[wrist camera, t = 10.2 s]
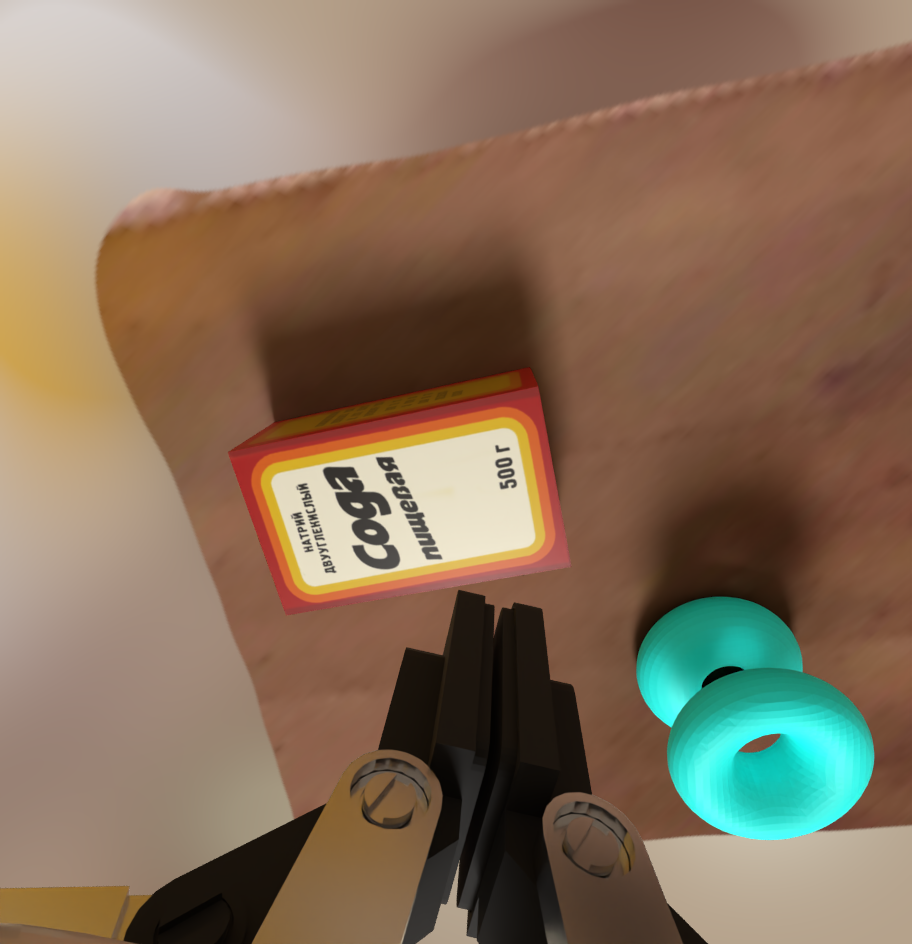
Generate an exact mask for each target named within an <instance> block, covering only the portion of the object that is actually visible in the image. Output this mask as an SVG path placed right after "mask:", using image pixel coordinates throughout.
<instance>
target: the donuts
mask: <svg viewBox="0 0 912 944" xmlns="http://www.w3.org/2000/svg"><path fill="white" fill-rule="evenodd" d="M725 666H736V667H740V668H742V669H744V670H743V671H739V672H735V673H732V674H729V675H726V676H724V677H721V678H719V679H717V680H715V681H713V682H712V683H710V684H708V685H707V686H705V687H704V688H702V683H703V681H704V679H705V678H706V677H707V676H708V675H709V674H710V673H711V672H713V671H714V670H716V669H718V668H721V667H725ZM636 673H637V681H638V685H639V688H640V691H641V694H642V696H643V698H644V700H645V702H646V703H647V705H648V706H649V708H650V709H651V710H652V711H653V713H654V714H655V715H656V716H657V717H658V718H659V719H661V720H662V721H663V722H664V723H666V724H667V725H668V726H670V727H672V728H671V731H670V735H669V740H668V746H667V758H668V767H669V772H670V775H671V778H672V780H673V783H674V785H675V787H676V789H677V791H678V793H679V794H680V796H681V797H682V799H683V800H684V801H685V803H686V804H687V805H688V806H689V807H690V809H691V810H692V811H694V812H695V813H696V814H697V815H698V816H699V817H701V818H702V819H703V820H705V821H706V822H708V823H709V824H711V825H712V826H714V827H716V828H718V829H720V830H723V831H725V832H728V833H730V834H734V835H737V836H741V837H746V838H751V839H760V840H779V839H787V838H793V837H798V836H802V835H805V834H809V833H812V832H814V831H817V830H819V829H821V828H823V827H826V826H827V825H829V824H831V823H833V822H834V821H836V820H837V819H839V818H840V817H841V816H843V815H844V814H845V813H846V812H847V811H848V810H849V809H850V808H851V807H852V806H853V805H854V804H855V803H856V802H857V801H858V799H859V798H860V797H861V795H862V793H863V792H864V790H865V788H866V787H867V785H868V782H869V780H870V777H871V774H872V770H873V765H874V747H873V740H872V736H871V733H870V730H869V728H868V726H867V723H866V721H865V719H864V718H863V716H862V714H861V713H860V711H859V710H858V709H857V708H856V706H855V705H854V704H853V703H852V702H851V701H850V700H849V698H847V697H846V696H845V695H844V694H843V693H842V692H840V691H839V690H837V689H836V688H835V687H833V686H832V685H830V684H829V683H827V682H825V681H823V680H821V679H819V678H816V677H814V676H811V675H809V674H806V673H803V665H802V656H801V651H800V648H799V646H798V643H797V641H796V639H795V637H794V635H793V633H792V632H791V630H790V629H789V628H788V626H787V625H786V624H785V623H784V622H783V621H782V620H781V619H780V618H779V617H778V616H777V615H775V614H774V613H772V612H771V611H769V610H768V609H766V608H764V607H762V606H761V605H759V604H756V603H754V602H751V601H748V600H744V599H740V598H733V597H708V598H702V599H697V600H694V601H691V602H688V603H685V604H683V605H680V606H678V607H677V608H675V609H673V610H671V611H670V612H668V613H667V614H665V615H664V616H663V617H662V618H661V619H659V620H658V621H657V622H656V623H655V624H654V626H653V627H652V628H651V629H650V631H649V632H648V633H647V635H646V637H645V638H644V640H643V642H642V644H641V647H640V650H639V653H638V657H637V668H636ZM775 733H781V735H780V737H779V739H778V740H777V741H776V742H775V743H774V744H773V745H772V746H770V747H769V748H767V749H765V750H762V751H759V752H753V753H745V752H739V751H738V750H739V749H740V748H741V747H743V746H744V745H745V744H746V743H748V742H750V741H752V740H753V739H756V738H758V737H761V736H764V735H768V734H775Z"/></svg>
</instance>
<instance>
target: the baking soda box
mask: <svg viewBox="0 0 912 944" xmlns="http://www.w3.org/2000/svg"><path fill="white" fill-rule="evenodd" d="M228 455H229V457H230V460H231V463H232V466H233V469H234V471H235V474H236V477H237V480H238V482H239V485H240V488H241V491H242V494H243V496H244V499H245V502H246V505H247V508H248V510H249V513H250V516H251V519H252V522H253V524H254V527H255V530H256V533H257V536H258V539H259V542H260V544H261V547H262V550H263V553H264V556H265V558H266V561H267V564H268V567H269V569H270V572H271V575H272V578H273V580H274V583H275V586H276V589H277V591H278V594H279V597H280V600H281V603H282V605H283V608H284V611H285V614H286V615H291V614H297V613H303V612H308V611H314V610H320V609H326V608H332V607H338V606H344V605H349V604H355V603H361V602H367V601H373V600H379V599H385V598H391V597H396V596H402V595H408V594H414V593H420V592H426V591H432V590H437V589H443V588H449V587H455V586H461V585H467V584H473V583H478V582H484V581H490V580H496V579H502V578H508V577H514V576H520V575H525V574H531V573H537V572H543V571H549V570H555V569H561V568H566V567H571V561H570V556H569V551H568V545H567V540H566V534H565V529H564V523H563V518H562V513H561V507H560V502H559V496H558V491H557V485H556V480H555V475H554V469H553V464H552V458H551V453H550V447H549V442H548V437H547V431H546V426H545V420H544V415H543V409H542V404H541V399H540V393H539V388H538V385H537V382H536V380H535V378H534V375H533V373H532V370H531V368H530V367H528V368H523V369H518V370H514V371H509V372H505V373H500V374H495V375H491V376H486V377H482V378H477V379H472V380H468V381H463V382H458V383H454V384H449V385H445V386H440V387H435V388H431V389H426V390H422V391H417V392H412V393H408V394H403V395H398V396H394V397H389V398H385V399H380V400H375V401H371V402H366V403H362V404H357V405H352V406H348V407H343V408H338V409H334V410H329V411H325V412H320V413H315V414H311V415H306V416H302V417H297V418H292V419H288V420H283V421H278V422H274V423H273V424H271V425H270V426H268V427H266V428H265V429H263V430H262V431H260V432H259V433H257V434H256V435H254V436H252V437H251V438H249V439H248V440H246V441H245V442H243V443H241V444H240V445H238V446H237V447H235V448H234V449H232V450H231V451H229V452H228Z"/></svg>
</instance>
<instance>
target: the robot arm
mask: <svg viewBox="0 0 912 944" xmlns="http://www.w3.org/2000/svg"><path fill="white" fill-rule="evenodd" d="M493 636H494V638H493ZM459 860H460V863H459ZM458 863H459V876H458V889H457V907H458V908H463V909H467V910H468V920H467V936H469V937H473V938H477V941H478V943H479V944H708V943H707V942H706V941H705V940H704V939H703V938H701V936H700V935H699V934H698V933H697V932H696V931H695V930H694V929H693V928H692V927H690V926H689V924H688V923H687V922H686V921H685V920H683V918H682V917H681V916H680V915H679V914H677V913H676V912H675V910H674V909H673V908H672V907H671V906H669V904H668V903H667V901H666V899H665V896H664V894H663V891H662V889H661V886H660V884H659V881H658V878H657V876H656V874H655V871H654V868H653V866H652V863H651V861H650V858H649V855H648V853H647V850H646V848H645V845H644V843H643V841H642V839H641V837H640V835H639V833H638V831H637V830H636V828H635V826H634V825H633V824H632V823H631V822H630V821H629V819H628V818H627V817H626V816H625V815H624V814H623V813H622V812H621V811H619V810H618V809H617V808H615V807H614V806H613V805H612V804H610V803H609V802H607V801H605V800H603V799H600V798H598V797H596V796H594V795H592V792H591V786H590V780H589V774H588V768H587V762H586V756H585V750H584V744H583V738H582V732H581V726H580V720H579V715H578V709H577V703H576V697H575V692H574V688H573V686H572V685H571V684H567V683H562V682H558V681H553V680H550V674H549V665H548V656H547V647H546V638H545V629H544V620H543V612H542V609H541V608H537V607H533V606H528V605H524V604H519V603H515V602H514V604H513V606H512V609H508V608H502V609H501V612H500V616H499V619H498V623H497V627H496V631H495V635H494V605H490V604H485V596H483V595H479V594H474V593H470V592H466V591H461V590H458V593H457V597H456V602H455V606H454V610H453V614H452V619H451V623H450V627H449V631H448V636H447V640H446V644H445V648H444V653H443V655H438V654H434V653H429V652H425V651H420V650H416V649H412V648H407V647H406V650H405V653H404V657H403V660H402V664H401V668H400V671H399V675H398V679H397V682H396V686H395V690H394V693H393V697H392V701H391V704H390V708H389V712H388V715H387V719H386V723H385V726H384V730H383V733H382V737H381V741H380V744H379V748H378V750H376V751H373V752H369V753H366V754H363V755H362V756H360V757H359V758H357V759H356V760H354V761H353V762H351V764H350V765H349V766H348V767H347V769H346V770H345V771H344V772H343V774H342V776H341V778H340V780H339V781H338V783H337V785H336V787H335V789H334V791H333V793H332V794H331V796H330V798H329V800H328V802H327V803H326V804H324V805H322V806H320V807H318V808H316V809H314V810H312V811H310V812H308V813H306V814H304V815H302V816H300V817H298V818H296V819H294V820H292V821H290V822H288V823H286V824H285V825H282V826H280V827H278V828H276V829H274V830H272V831H270V832H268V833H266V834H264V835H262V836H260V837H258V838H257V839H254V840H252V841H250V842H248V843H246V844H244V845H242V846H240V847H238V848H236V849H234V850H232V851H230V852H228V853H226V854H224V855H222V856H220V857H218V858H216V859H214V860H212V861H210V862H208V863H206V864H204V865H202V866H200V867H198V868H196V869H194V870H192V871H190V872H188V873H186V874H184V875H182V876H180V877H178V878H176V879H174V880H173V881H171V882H170V883H168V884H167V885H165V886H163V887H162V888H160V889H159V890H157V891H156V892H155V893H154V894H153V895H129V889H130V886H99V887H97V886H96V887H42V888H0V944H416V943H417V942H419V941H420V940H421V939H423V938H424V937H425V936H426V935H428V934H429V933H430V932H432V931H433V930H434V926H435V923H436V919H437V915H438V912H439V908H440V905H441V904H447V902H448V898H449V895H450V891H451V888H452V884H453V881H454V877H455V874H456V870H457V867H458Z"/></svg>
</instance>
